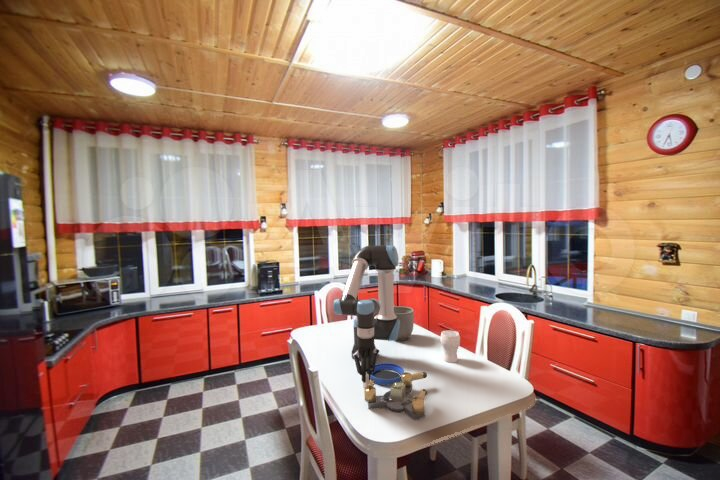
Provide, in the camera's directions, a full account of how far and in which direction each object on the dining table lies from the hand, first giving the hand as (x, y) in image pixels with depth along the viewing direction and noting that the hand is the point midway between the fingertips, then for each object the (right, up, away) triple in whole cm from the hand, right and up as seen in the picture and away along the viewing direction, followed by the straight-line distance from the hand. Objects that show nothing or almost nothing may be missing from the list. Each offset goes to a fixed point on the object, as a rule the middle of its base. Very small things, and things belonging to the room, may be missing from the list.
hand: (366, 388), depth 140 cm
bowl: (+11, -4, +19) cm, 22 cm away
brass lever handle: (+22, -1, -11) cm, 25 cm away
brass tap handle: (+23, -1, +7) cm, 24 cm away
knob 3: (+2, -2, -2) cm, 3 cm away
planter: (+24, 0, +72) cm, 76 cm away
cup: (+48, -1, +36) cm, 60 cm away
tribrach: (+15, -4, -3) cm, 15 cm away
